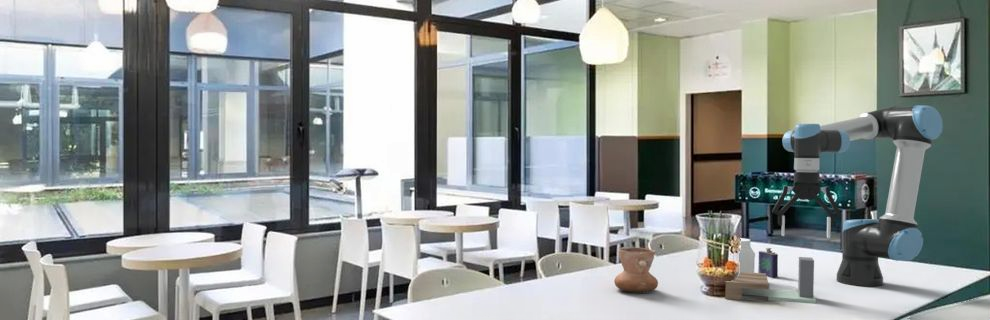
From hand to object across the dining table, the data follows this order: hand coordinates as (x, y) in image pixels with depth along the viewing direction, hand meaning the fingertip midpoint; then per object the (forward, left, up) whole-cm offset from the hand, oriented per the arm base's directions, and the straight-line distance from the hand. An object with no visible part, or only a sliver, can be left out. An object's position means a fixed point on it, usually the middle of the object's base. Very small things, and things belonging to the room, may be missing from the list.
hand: (805, 236), depth 229 cm
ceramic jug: (+8, -53, -20) cm, 58 cm away
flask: (-37, -9, -20) cm, 43 cm away
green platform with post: (0, -8, -20) cm, 22 cm away
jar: (-24, -20, -20) cm, 37 cm away
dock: (0, -18, -20) cm, 27 cm away
